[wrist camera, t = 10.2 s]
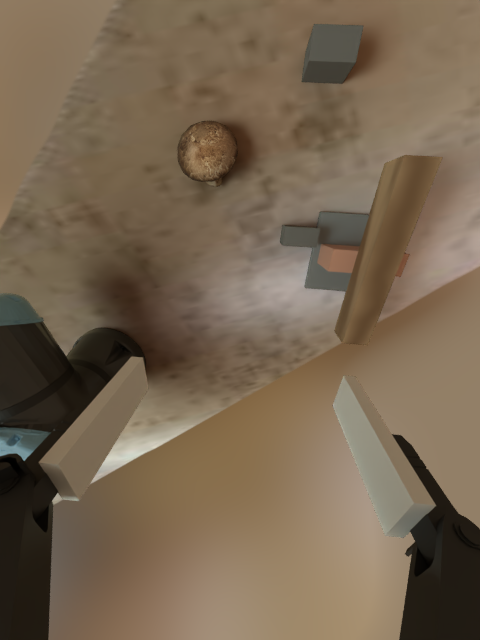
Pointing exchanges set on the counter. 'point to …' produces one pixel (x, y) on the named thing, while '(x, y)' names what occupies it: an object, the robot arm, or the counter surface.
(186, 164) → the mushroom
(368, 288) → the rod
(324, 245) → the fulcrum
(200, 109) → the counter surface
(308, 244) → the grey blocks
